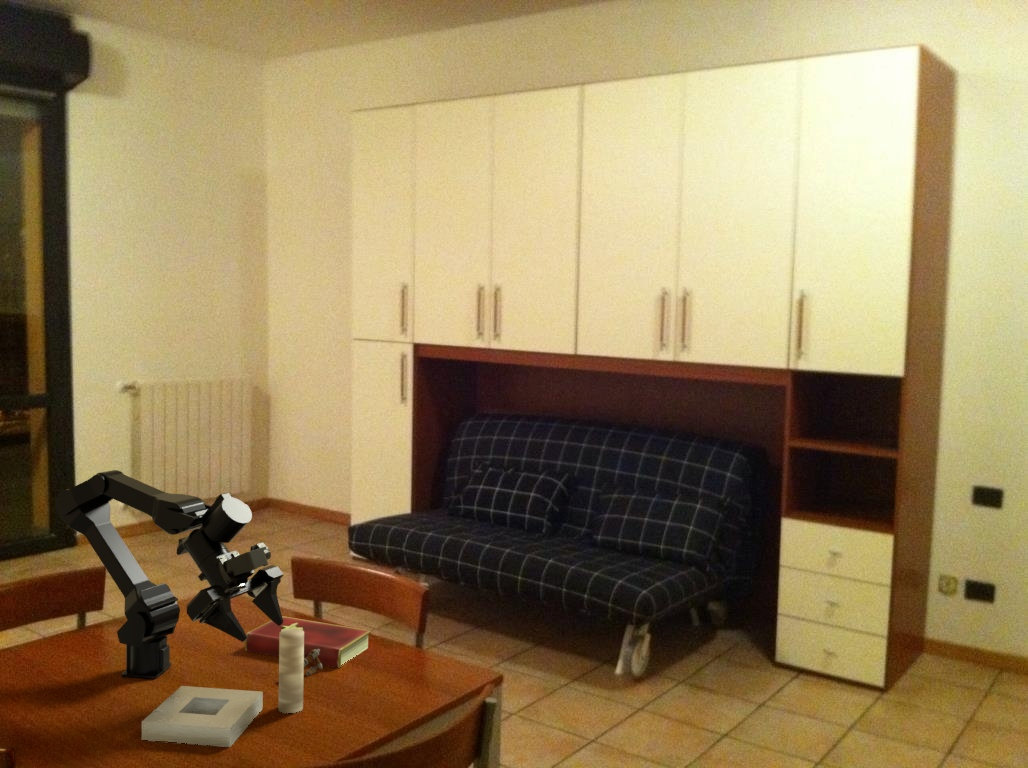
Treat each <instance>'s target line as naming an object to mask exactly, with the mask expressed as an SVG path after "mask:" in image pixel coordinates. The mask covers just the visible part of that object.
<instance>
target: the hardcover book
mask: <svg viewBox="0 0 1028 768" xmlns="http://www.w3.org/2000/svg"><path fill="white" fill-rule="evenodd" d="M282 618H283V623H282V624H281V625H280V626H278V625H277V624H276V623H274V622H273V621H272V620H271V619H270V620H269V621H267V622H265V623H263V624H262V625H259V626H258V627H256V628H253V629H251V630H249V631H247V632H245V634H246V636H247V639H246V640H245V641H244V651H245V652H248V651H250V652H249V653H253V652H255V653H254V654H259V653H261V654H260V655H264V654H268V655H267V656H270V655H274V656H273V657H276V656H279V635H280V632H281V631H283V630H287V629H300V630H303V631H304V659H305V658H306V657H307V656H309V655H310V654H309V653H311V651H312V650H314V649H316V650H317V649H320V652H319V655H318V656H317V657H318V659H319V661H320V662H321V664H322V666H325V665H329V666H328V667H331V666H334V667H333V668H336V667H338V669H341V668H342V666H343V665H345V664H346V663H348V662H349V661H351V660H353V659H354V658H355V657H357V656H358V655H360V654H362V653H363V652H365V651H366V650H367V649H369V635H370V634H371V633H372V630H368V629H362V628H357V627H350V626H344V625H339V624H338V625H337V624H332V623H326V622H319V621H314V620H308V619H302V618H296V617H290V616H283V615H282ZM356 655H357V656H356ZM353 657H354V658H353ZM350 659H351V660H350ZM312 660H313V661H315V659H312ZM348 660H349V661H348ZM347 661H348V662H347ZM310 662H312V661H310ZM345 662H346V663H345ZM314 663H315V662H312V663H311V664H314ZM344 663H345V664H344ZM342 664H343V665H342ZM341 665H342V666H341ZM340 667H341V668H340Z"/></svg>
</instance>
